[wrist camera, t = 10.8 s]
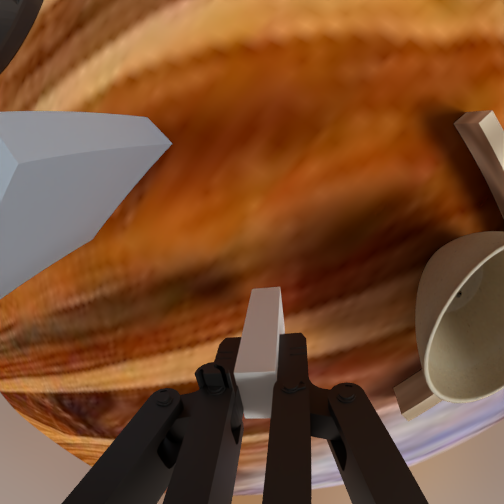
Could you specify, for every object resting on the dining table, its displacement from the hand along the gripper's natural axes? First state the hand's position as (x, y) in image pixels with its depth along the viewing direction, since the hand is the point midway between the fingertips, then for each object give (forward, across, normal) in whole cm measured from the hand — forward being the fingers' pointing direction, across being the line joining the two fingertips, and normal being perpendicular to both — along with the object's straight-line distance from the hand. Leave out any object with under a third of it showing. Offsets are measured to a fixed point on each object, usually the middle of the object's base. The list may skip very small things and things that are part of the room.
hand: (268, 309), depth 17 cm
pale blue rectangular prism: (+3, -9, +8) cm, 12 cm away
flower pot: (+3, +12, -1) cm, 13 cm away
